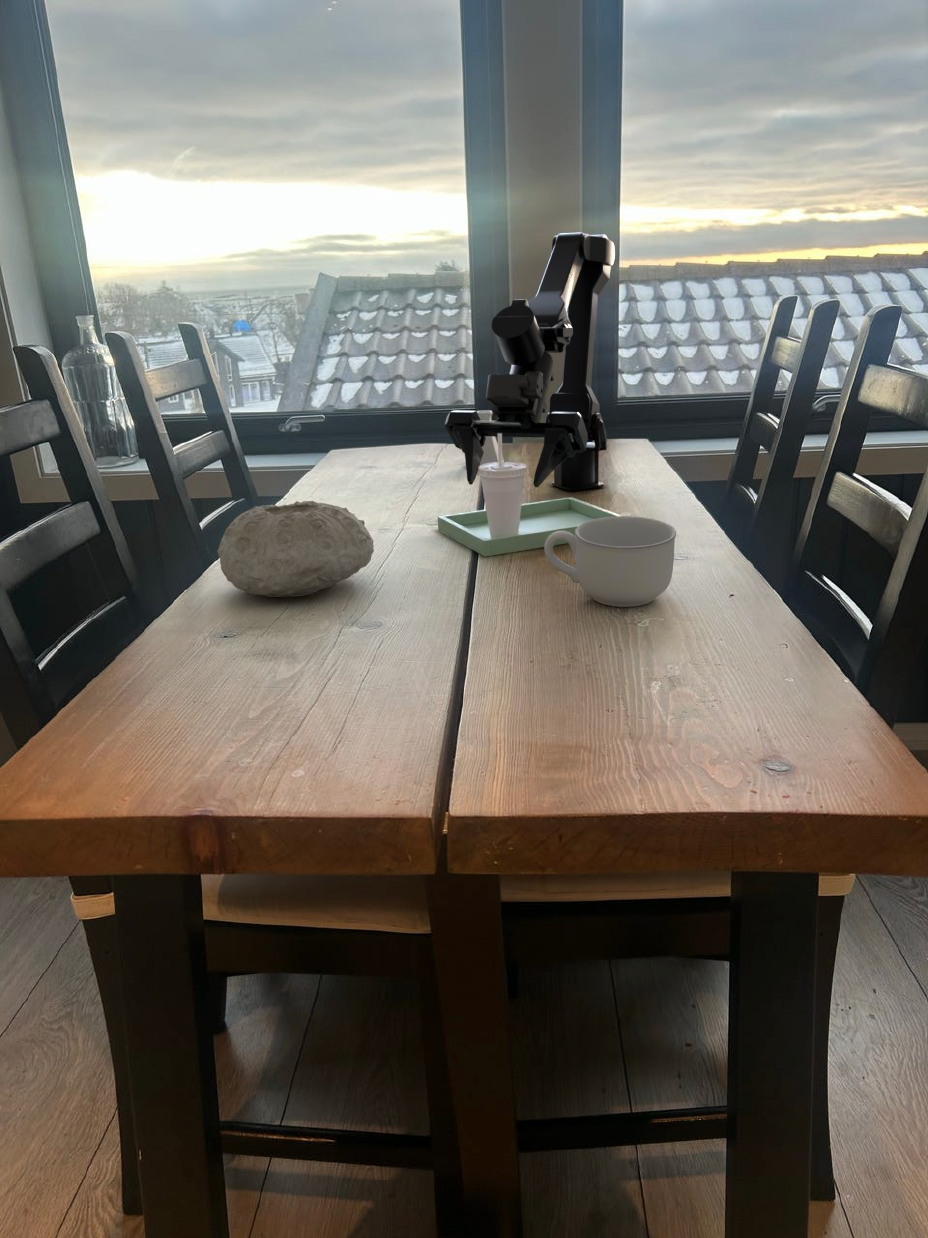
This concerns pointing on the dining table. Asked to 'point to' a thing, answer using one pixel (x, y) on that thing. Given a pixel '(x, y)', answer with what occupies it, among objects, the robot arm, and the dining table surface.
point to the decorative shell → (293, 548)
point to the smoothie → (502, 494)
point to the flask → (488, 441)
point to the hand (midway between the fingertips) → (502, 484)
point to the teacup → (619, 558)
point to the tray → (521, 525)
